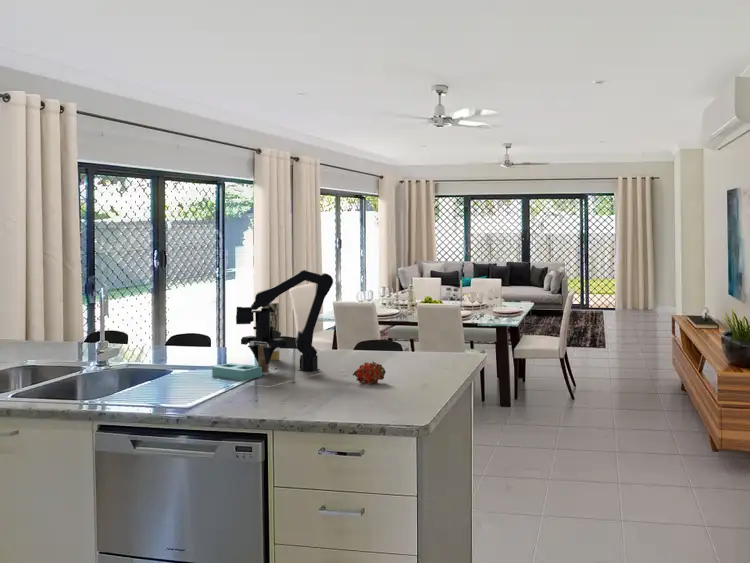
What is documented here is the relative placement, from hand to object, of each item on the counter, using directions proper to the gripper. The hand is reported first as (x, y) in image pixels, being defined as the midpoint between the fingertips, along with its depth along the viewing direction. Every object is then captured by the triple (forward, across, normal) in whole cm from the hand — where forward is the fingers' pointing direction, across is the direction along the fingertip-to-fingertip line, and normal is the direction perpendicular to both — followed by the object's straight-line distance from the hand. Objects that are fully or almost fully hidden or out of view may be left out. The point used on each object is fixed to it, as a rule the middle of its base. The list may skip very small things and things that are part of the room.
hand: (263, 363), depth 292 cm
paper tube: (+4, +17, -24) cm, 30 cm away
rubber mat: (+4, 0, 0) cm, 4 cm away
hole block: (+4, +2, +12) cm, 13 cm away
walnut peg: (+3, 0, 0) cm, 3 cm away
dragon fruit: (+4, -47, -4) cm, 47 cm away
